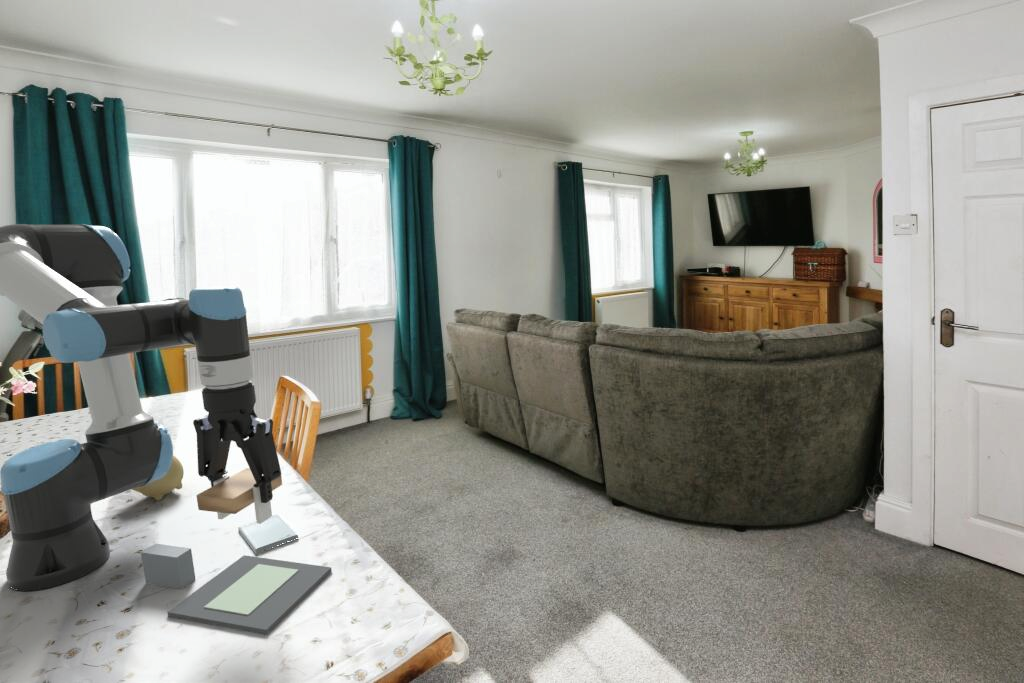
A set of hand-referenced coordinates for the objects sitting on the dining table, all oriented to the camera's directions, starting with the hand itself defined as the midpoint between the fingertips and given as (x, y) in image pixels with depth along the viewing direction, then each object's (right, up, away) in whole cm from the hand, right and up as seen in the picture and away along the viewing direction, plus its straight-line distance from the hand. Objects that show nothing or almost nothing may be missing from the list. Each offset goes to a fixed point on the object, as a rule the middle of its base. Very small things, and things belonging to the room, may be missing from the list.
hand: (245, 517), depth 93 cm
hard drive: (-6, -11, +22) cm, 25 cm away
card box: (0, +4, -1) cm, 4 cm away
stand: (-17, -14, +7) cm, 22 cm away
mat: (0, -14, +2) cm, 14 cm away
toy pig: (-42, -9, +43) cm, 60 cm away
